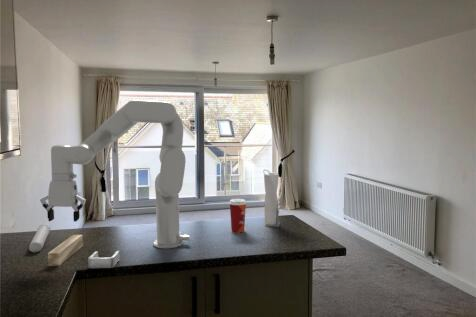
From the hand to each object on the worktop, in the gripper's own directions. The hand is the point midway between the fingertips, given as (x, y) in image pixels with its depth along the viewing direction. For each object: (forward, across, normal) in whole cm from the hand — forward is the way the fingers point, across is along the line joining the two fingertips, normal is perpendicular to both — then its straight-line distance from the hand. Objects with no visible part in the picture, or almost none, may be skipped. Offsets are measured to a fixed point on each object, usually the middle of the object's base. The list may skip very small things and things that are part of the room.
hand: (63, 220), depth 147 cm
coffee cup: (+12, -69, -30) cm, 76 cm away
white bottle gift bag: (+12, -86, -41) cm, 96 cm away
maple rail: (+14, -1, 0) cm, 14 cm away
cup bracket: (+14, -19, +9) cm, 25 cm away
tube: (+15, +17, -14) cm, 26 cm away
